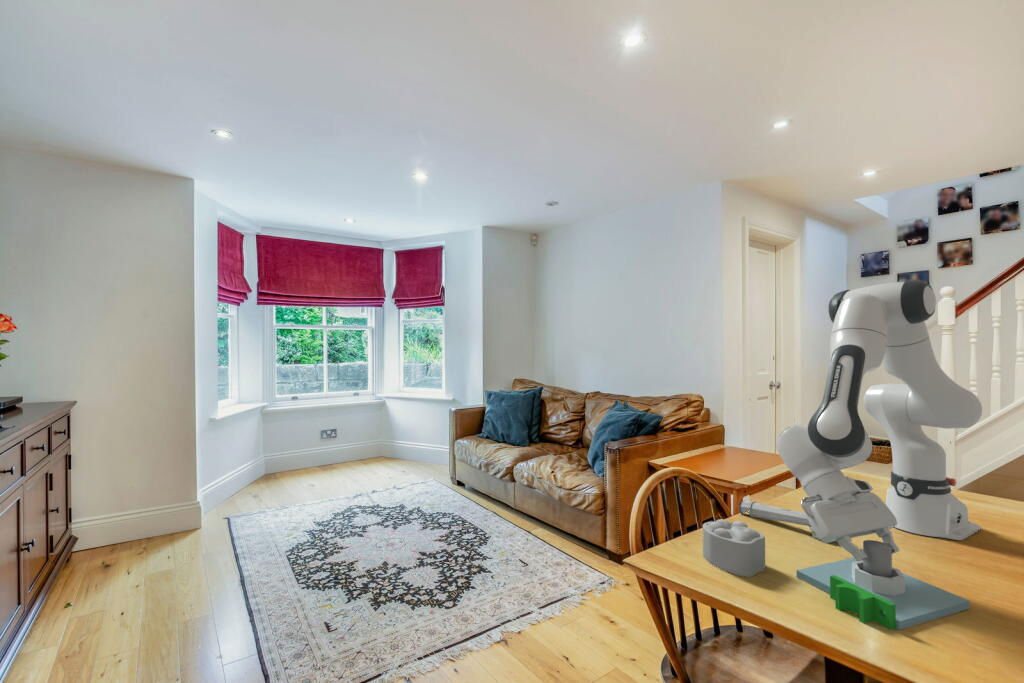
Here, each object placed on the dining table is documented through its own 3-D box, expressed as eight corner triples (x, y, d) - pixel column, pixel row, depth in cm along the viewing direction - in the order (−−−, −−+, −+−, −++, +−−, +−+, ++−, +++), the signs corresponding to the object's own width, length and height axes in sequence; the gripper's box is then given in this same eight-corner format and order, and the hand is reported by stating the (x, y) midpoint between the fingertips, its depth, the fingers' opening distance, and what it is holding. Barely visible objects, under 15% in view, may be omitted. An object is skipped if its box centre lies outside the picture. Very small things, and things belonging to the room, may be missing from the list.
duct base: (861, 562, 108) (860, 542, 108) (969, 608, 89) (969, 584, 89) (796, 577, 101) (796, 556, 101) (899, 630, 83) (898, 604, 83)
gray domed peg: (873, 577, 98) (873, 538, 98) (897, 587, 94) (897, 547, 94) (858, 580, 97) (857, 542, 97) (882, 592, 92) (881, 551, 92)
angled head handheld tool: (746, 498, 142) (838, 511, 121) (749, 521, 141) (843, 538, 120) (736, 501, 139) (829, 515, 118) (739, 525, 138) (833, 543, 117)
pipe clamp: (820, 601, 92) (820, 577, 92) (834, 598, 94) (833, 574, 94) (881, 634, 82) (881, 607, 82) (896, 629, 83) (895, 603, 83)
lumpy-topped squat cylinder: (745, 580, 100) (745, 539, 101) (692, 557, 111) (692, 520, 111) (770, 566, 106) (770, 528, 106) (717, 546, 117) (717, 511, 117)
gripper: (806, 491, 99) (854, 557, 89) (873, 481, 105) (924, 542, 96) (787, 505, 103) (831, 570, 94) (853, 495, 110) (900, 555, 100)
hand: (879, 556), depth 95 cm, fingers open, 8 cm apart
